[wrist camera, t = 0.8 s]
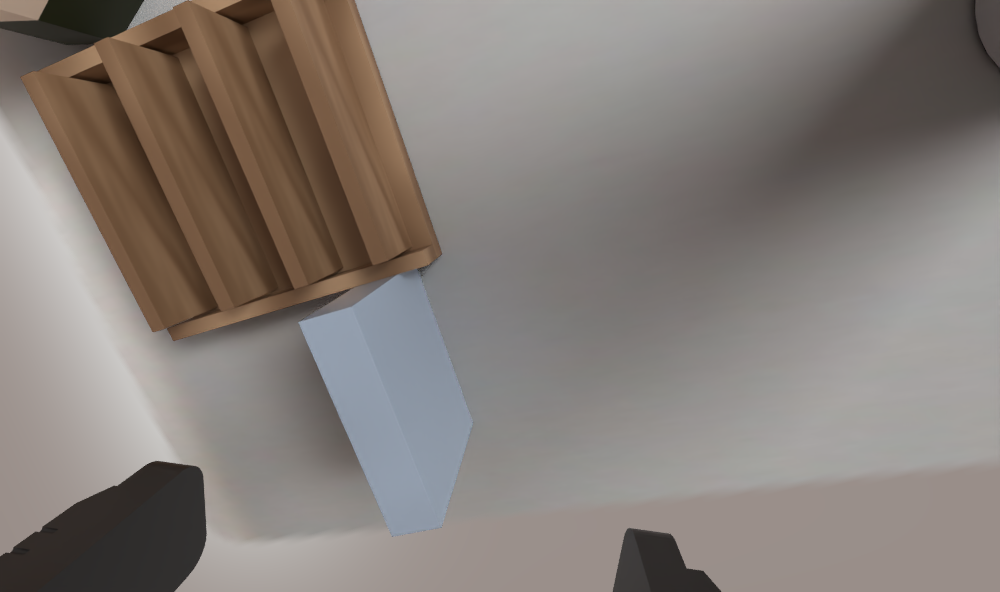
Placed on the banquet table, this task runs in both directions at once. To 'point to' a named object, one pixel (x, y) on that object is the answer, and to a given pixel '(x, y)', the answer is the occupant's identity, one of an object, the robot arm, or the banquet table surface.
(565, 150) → the banquet table surface
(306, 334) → the light blue flat block
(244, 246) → the rack
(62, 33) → the wine bottle
